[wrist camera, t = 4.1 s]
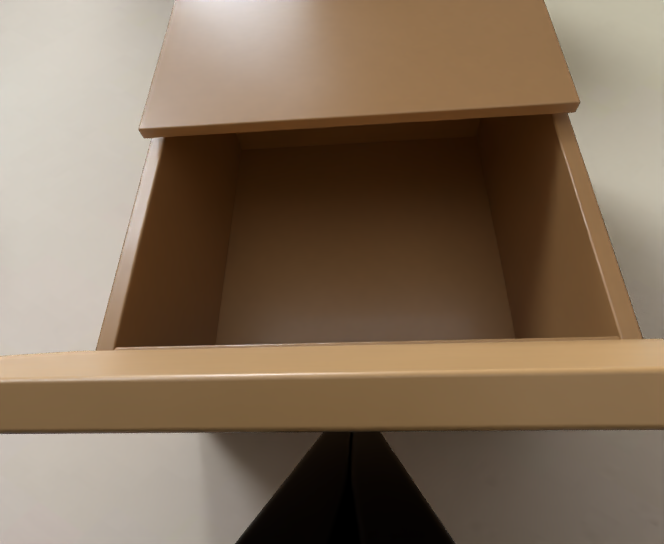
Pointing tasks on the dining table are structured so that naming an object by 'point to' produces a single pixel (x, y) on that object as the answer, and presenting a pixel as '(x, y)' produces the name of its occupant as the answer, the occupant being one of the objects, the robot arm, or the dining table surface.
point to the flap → (339, 388)
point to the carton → (363, 183)
